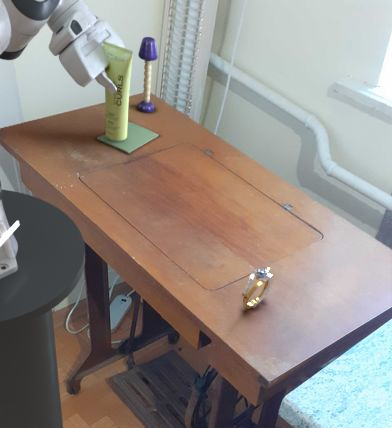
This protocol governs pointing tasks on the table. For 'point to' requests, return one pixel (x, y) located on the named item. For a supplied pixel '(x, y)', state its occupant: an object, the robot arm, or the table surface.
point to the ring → (268, 283)
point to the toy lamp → (147, 71)
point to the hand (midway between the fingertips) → (119, 87)
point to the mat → (131, 138)
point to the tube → (120, 99)
